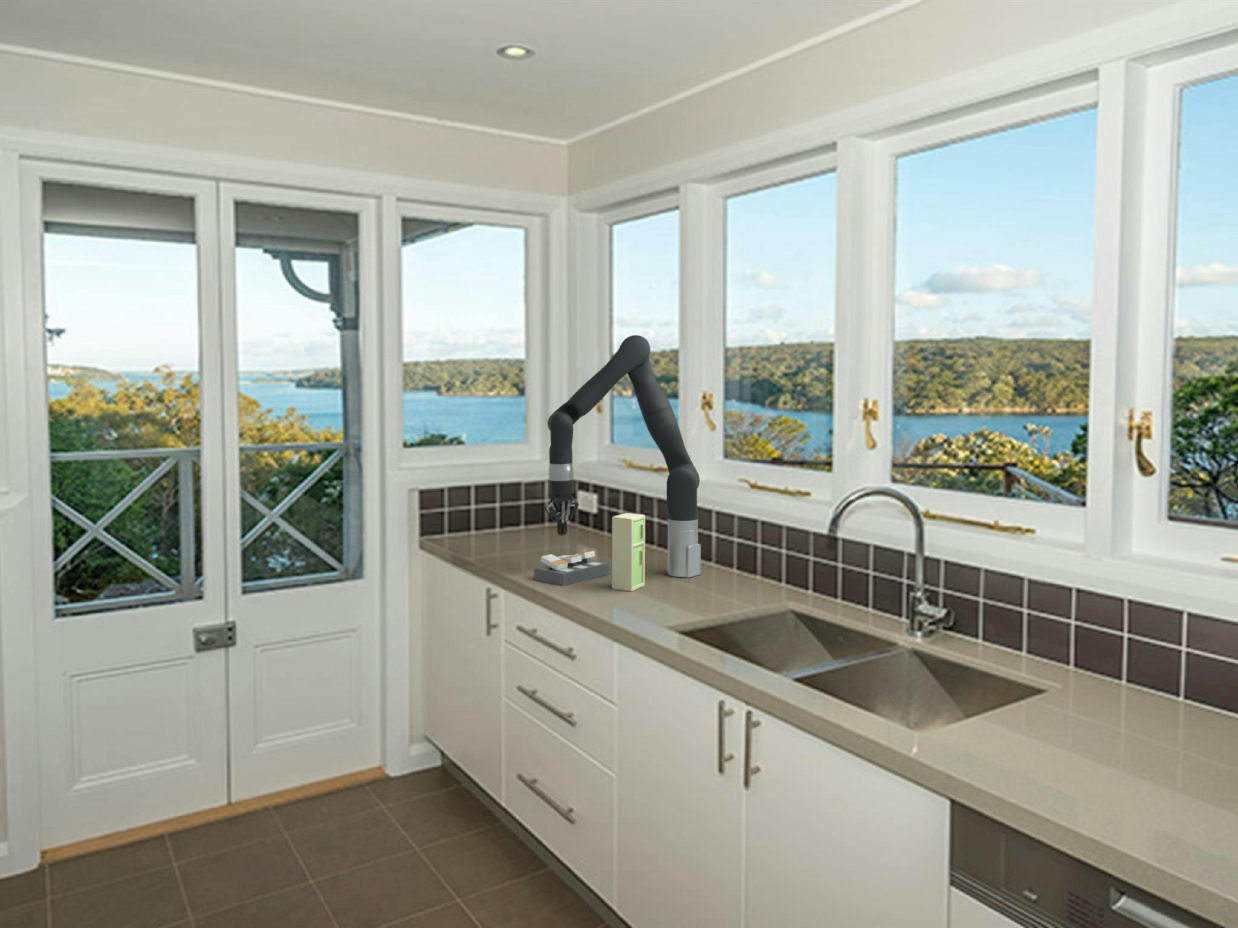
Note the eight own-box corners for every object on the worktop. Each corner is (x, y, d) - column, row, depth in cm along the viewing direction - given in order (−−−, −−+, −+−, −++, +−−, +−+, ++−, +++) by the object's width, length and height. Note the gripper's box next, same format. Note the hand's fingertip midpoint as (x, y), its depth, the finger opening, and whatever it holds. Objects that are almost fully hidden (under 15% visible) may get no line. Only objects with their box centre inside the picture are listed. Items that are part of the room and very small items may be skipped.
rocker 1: (567, 568, 280) (568, 562, 279) (556, 570, 276) (557, 564, 276) (550, 558, 284) (551, 553, 283) (540, 561, 281) (541, 555, 280)
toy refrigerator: (633, 592, 265) (633, 518, 263) (611, 588, 269) (611, 516, 267) (647, 586, 272) (647, 514, 270) (625, 583, 276) (625, 512, 274)
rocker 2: (595, 556, 288) (594, 550, 288) (585, 558, 285) (584, 552, 285) (579, 558, 293) (578, 553, 293) (569, 561, 290) (568, 555, 290)
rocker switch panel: (617, 572, 291) (617, 558, 290) (562, 585, 273) (562, 571, 272) (588, 566, 298) (588, 553, 298) (534, 579, 280) (534, 565, 280)
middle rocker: (581, 560, 284) (581, 555, 284) (571, 563, 280) (571, 557, 280) (565, 560, 288) (564, 554, 288) (555, 562, 285) (554, 556, 285)
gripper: (554, 481, 276) (556, 539, 278) (585, 476, 286) (586, 533, 288) (536, 479, 281) (538, 536, 282) (567, 475, 291) (568, 530, 292)
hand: (562, 534), depth 285 cm, fingers closed
